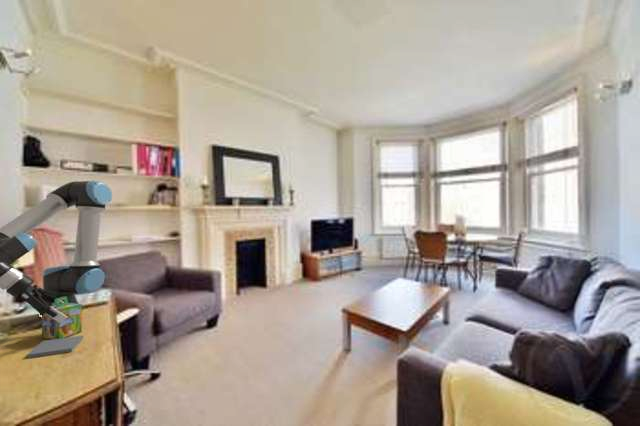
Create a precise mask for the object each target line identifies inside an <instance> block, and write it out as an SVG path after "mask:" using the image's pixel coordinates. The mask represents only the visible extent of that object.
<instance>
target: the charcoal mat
mask: <svg viewBox="0 0 640 426" xmlns="http://www.w3.org/2000/svg"><path fill="white" fill-rule="evenodd" d="M83 340H84V336H83V335H78V336H77V335H76V336H68V337H65V338H61V339H45V340H42V341H41V342H40V343H39V344H37V345H36V346H35V347H34V348H32V350H30V351H29V352H28V353H27V354H26V359H31V358H39V357H44V356H52V355H59V354H65V353H72V352H73V351H74V349H75V348H76V347H77V346H79V345H78V344H80V343H81V342H82V341H83Z"/></svg>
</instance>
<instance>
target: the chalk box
mask: <svg viewBox="0 0 640 426" xmlns="http://www.w3.org/2000/svg"><path fill="white" fill-rule="evenodd" d="M60 300H64V303H62V304H59V303H58V302H59V301H60ZM54 301H55V305H54V306H50V308H54V309H56V310H57V311H59V312H60V313H62V314H64V315H65V316H67V317H68V318H67V319H65V320H64V321H63V322H62V323H59V322H57V321H56V320H54V319H53V318H51V317H49V316H48V315H46V314H44V315H42V318H41V338H42V339H46V340H53V339H61V338H68V337H72V336H74V335H77V334H79V333H82V327H83V326H82V323H83V322H82V321H83V320H82V318H83V304H80V303H78V304H76V303H68V300H67V297H66V296H65V297H61V298H57V299H55V300H54Z"/></svg>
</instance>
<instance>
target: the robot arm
mask: <svg viewBox="0 0 640 426" xmlns="http://www.w3.org/2000/svg"><path fill="white" fill-rule="evenodd" d="M112 193H113V192H112V189H111V188H110V187H109V185H108V184H106V183H105V182H103V181H100V180H86V181H85V180H83V181H70V182H68V183H66V184H62V185H61V186H60V187H58V188H56V189H55V190H52V191H51V192H49V193H48V194H47V195H46V197H45V199H43V200H42V201H40V202H38V203H37V204H36V205H34V206H32V207H31V208H29V209H28V210H26V211H24V212H23V213H21V214H20V215H18V216H17V217H16V218H14V219H12V220H11V221H9V222H8V223H6V224H5V225H3V226H2V227H0V289H1V290H2V291H4V290H6V293H8V294H9V295H10V296H12V297H15V298H16V297H18V296H19V295H20V294H21V295H20V296H19V298H20V299H22V300H23V301H25V302H26V303H27V304H28V305H30V306H31V307H32V308H33V309H34V310H35V311H36V312H37V313H38V312H39V313H40V315H44V314H46V315H48V316H49V317H51V318H53V319H54V320H56V321H57V322H59V323H62V322H63V321H64V320H65V319H67V318H68V317H67V316H65V315H64V314H62V313H60V312H59V311H57V310H56V309H54V308H50V306H54V305H55V301H54V300H55V299H57V298H61V297H65V296H66V297H67V300H68V303H76V304H79V302H78V299H77V297H76V294H81V295H84V294H93V293H95V292H97V291H98V290H99V288H101V287H102V286H103V284H104V282H105V277H106V276H105V272H104V271H103V270H102V269H101V268H100V267H101V264H100V263H99V262H98V261H97V259H98V257H97V256H98V249H99V248H98V247H99V237H100V228H101V227H100V226H101V216H102V212H103V211H105V210H106V205H108V204H109V203H110V202H111V201H112V199H113V194H112ZM73 206H75V207H74V208H75V209H76V210H77V211H78V215H77V216H78V217H77V218H78V219H77V227H76V236H75V237H76V238H75V248H74V255H73V258H74V259H73V262H72V263H69V264H66V265H58V266H52V267H47V268H45V269H44V270H43V274H42V278H43V279H42V282H43V283H42V285H43V287H40V286H38V285H36V284H34V282H35V280H34V279H33V278H31V277H29V276H28V275H25V273H23V272H22V271H21V270H19V269H18V268H16V267H15V266H13V263H15V262H16V261H17V260H19V259H21V258H22V257H23V256H25V255H26V254H28V253H30V251H32V250H33V249H34V248H35V247H36V246H37V240H36V239H35V238H34V236H32V235H30V232H32V231H33V230H35V229H36V228H37V227H39V226H41V225H42V224H43V223H44V222H47V220H49V219H50V218H52V217H53V216H54V215H56V214H57V213H59V212H61V211H65V210H67V209H68V208H71V207H73ZM32 284H33V285H32ZM58 303H59V304H62V303H64V300H60V301H59V302H58Z"/></svg>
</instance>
